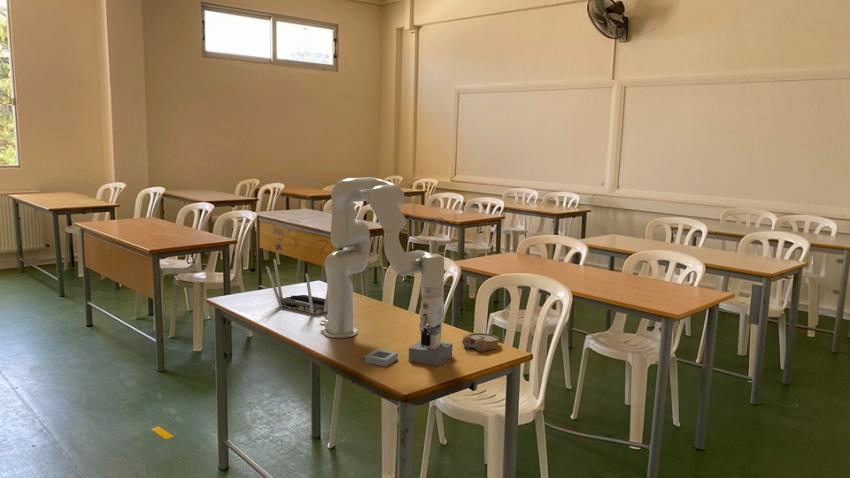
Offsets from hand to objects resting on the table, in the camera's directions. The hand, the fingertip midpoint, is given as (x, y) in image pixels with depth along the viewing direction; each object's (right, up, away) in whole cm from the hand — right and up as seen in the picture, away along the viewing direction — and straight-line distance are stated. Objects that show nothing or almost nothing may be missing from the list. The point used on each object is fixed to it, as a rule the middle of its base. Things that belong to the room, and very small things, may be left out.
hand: (431, 341), depth 212 cm
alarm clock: (+18, -5, +14) cm, 23 cm away
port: (0, -6, +1) cm, 6 cm away
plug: (0, -5, +1) cm, 5 cm away
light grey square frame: (-17, -6, -2) cm, 18 cm away
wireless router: (-53, +4, +58) cm, 79 cm away
